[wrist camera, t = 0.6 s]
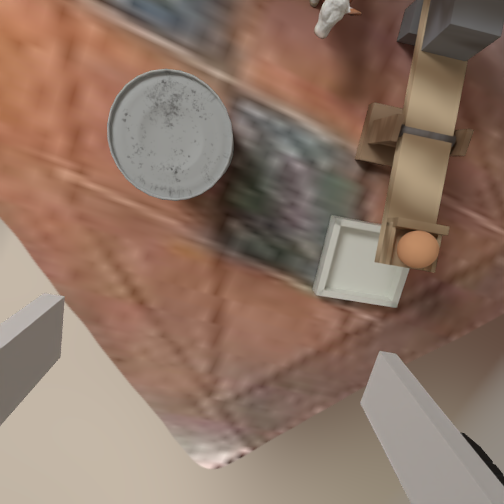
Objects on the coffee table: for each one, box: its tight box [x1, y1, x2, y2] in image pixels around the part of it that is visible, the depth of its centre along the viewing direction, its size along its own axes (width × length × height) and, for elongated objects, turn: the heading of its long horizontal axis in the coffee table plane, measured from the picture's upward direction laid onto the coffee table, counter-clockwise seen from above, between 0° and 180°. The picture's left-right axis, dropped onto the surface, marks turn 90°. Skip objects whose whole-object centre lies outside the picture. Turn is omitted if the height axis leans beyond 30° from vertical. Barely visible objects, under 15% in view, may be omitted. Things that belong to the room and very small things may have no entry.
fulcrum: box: [355, 102, 474, 167], centre depth 34 cm, size 6×8×7 cm
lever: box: [374, 0, 504, 273], centre depth 30 cm, size 26×6×5 cm, turn 170°
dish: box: [313, 215, 410, 308], centre depth 41 cm, size 10×11×2 cm
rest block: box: [397, 0, 423, 46], centre depth 34 cm, size 3×6×2 cm, turn 79°
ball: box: [397, 230, 439, 268], centre depth 30 cm, size 4×4×4 cm
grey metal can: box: [107, 69, 234, 201], centre depth 31 cm, size 10×10×12 cm
